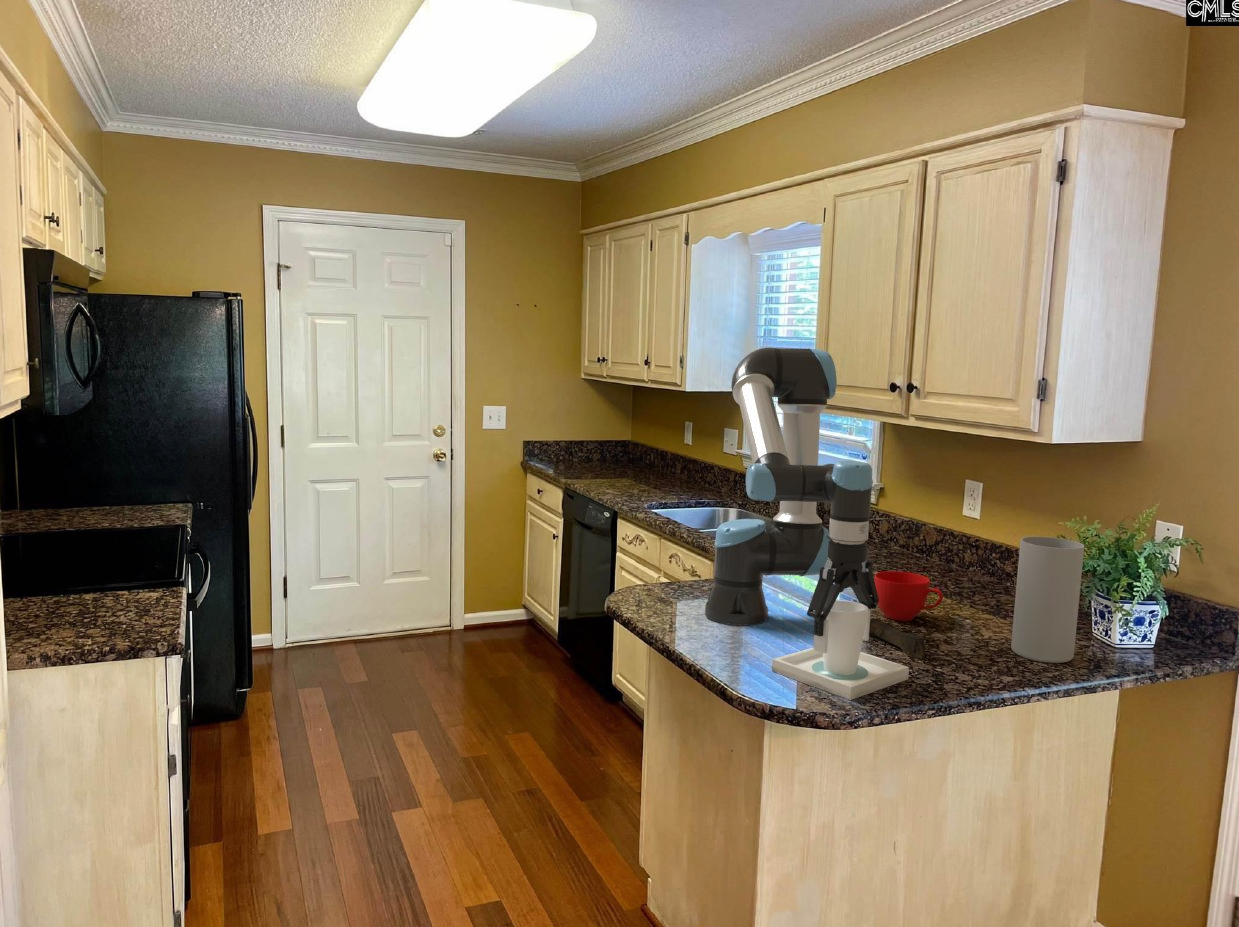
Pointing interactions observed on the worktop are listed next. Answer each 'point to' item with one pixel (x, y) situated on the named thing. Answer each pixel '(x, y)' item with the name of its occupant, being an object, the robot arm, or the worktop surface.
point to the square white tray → (864, 681)
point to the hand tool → (898, 638)
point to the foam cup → (845, 636)
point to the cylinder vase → (1047, 599)
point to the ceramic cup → (903, 594)
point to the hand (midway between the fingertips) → (841, 645)
